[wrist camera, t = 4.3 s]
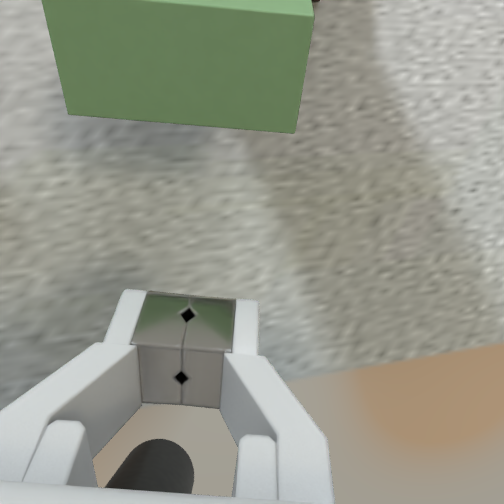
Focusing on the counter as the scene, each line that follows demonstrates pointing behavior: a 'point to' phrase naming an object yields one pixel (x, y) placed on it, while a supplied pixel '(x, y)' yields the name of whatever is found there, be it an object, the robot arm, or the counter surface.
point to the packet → (183, 60)
